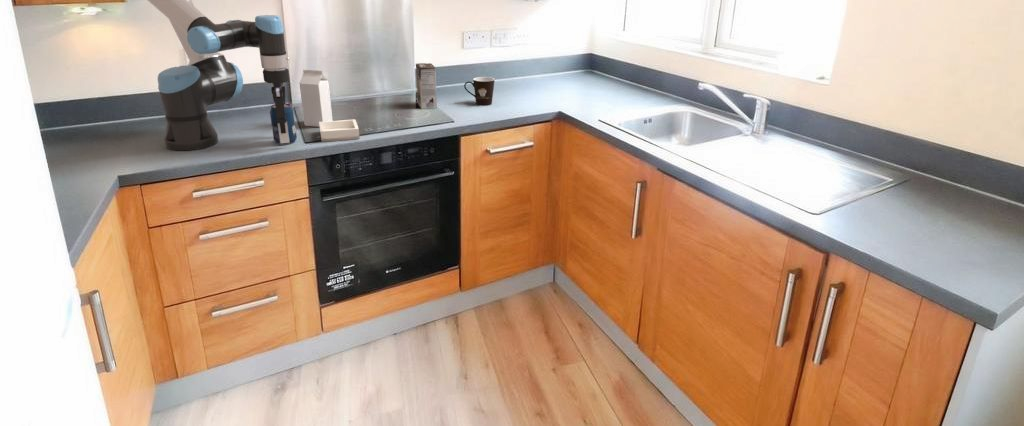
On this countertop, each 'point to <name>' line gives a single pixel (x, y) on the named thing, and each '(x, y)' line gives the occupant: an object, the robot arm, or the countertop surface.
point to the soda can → (290, 124)
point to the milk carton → (315, 98)
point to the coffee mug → (482, 90)
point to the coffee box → (426, 85)
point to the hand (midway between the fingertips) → (285, 137)
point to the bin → (339, 130)
